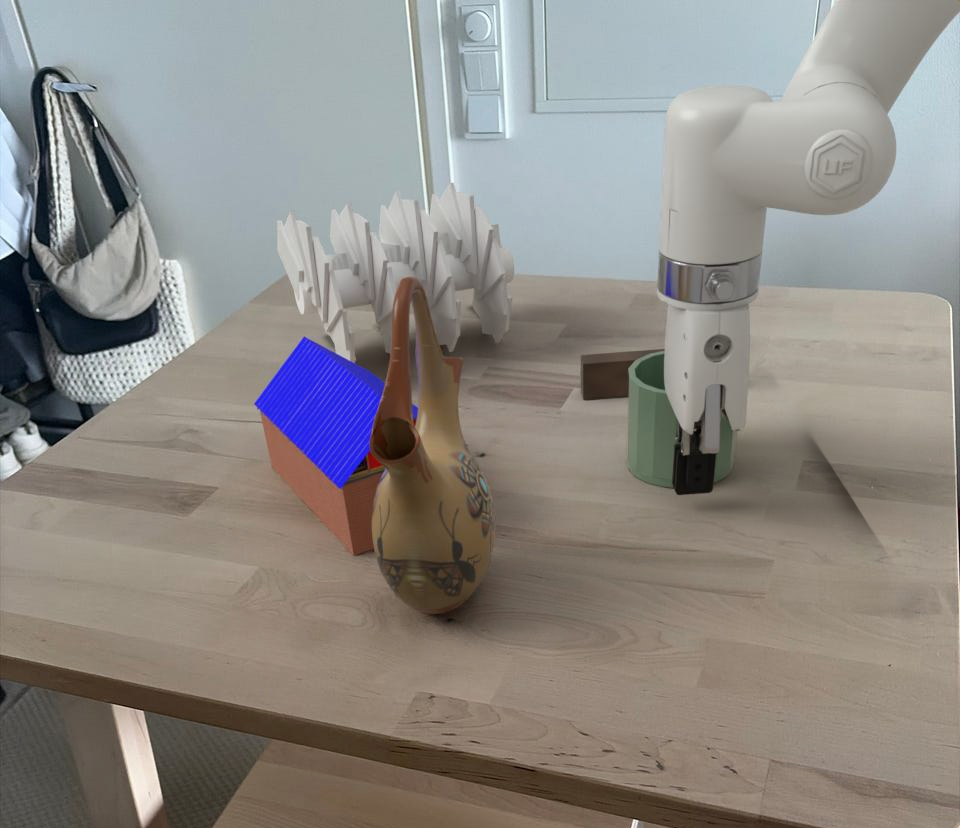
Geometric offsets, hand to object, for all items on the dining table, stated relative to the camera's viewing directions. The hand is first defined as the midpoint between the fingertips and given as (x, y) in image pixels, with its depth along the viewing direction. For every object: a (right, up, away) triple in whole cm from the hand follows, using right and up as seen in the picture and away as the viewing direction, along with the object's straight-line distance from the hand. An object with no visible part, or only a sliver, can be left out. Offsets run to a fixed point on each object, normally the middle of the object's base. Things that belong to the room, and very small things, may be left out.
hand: (692, 489), depth 88 cm
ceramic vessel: (-21, -10, -7) cm, 24 cm away
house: (-29, +1, +7) cm, 30 cm away
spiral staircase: (-26, +21, +33) cm, 47 cm away
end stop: (0, +13, +20) cm, 24 cm away
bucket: (0, +4, +8) cm, 8 cm away
